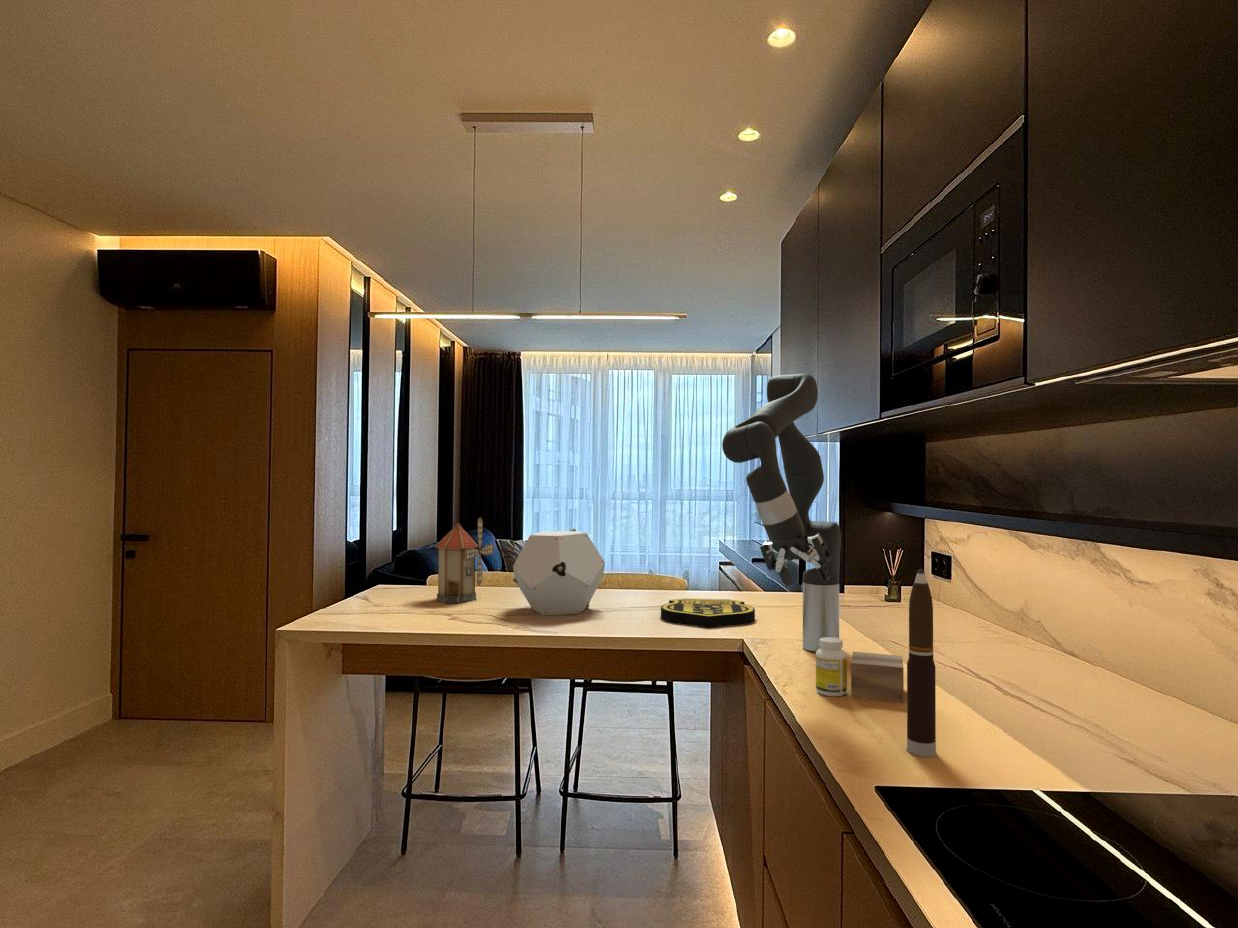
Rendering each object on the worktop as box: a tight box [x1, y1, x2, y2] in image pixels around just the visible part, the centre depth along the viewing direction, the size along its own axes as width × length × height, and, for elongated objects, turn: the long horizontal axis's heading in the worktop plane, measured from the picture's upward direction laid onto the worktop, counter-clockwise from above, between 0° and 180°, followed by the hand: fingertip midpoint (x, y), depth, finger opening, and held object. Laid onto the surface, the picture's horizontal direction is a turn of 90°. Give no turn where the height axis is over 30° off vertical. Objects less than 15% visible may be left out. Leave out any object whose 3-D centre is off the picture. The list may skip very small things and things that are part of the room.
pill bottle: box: [815, 637, 848, 697], centre depth 149 cm, size 6×6×11 cm
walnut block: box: [850, 651, 905, 704], centre depth 149 cm, size 10×10×7 cm
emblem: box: [660, 598, 756, 629], centre depth 226 cm, size 30×4×30 cm
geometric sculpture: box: [512, 528, 606, 616], centre depth 238 cm, size 30×30×30 cm
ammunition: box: [906, 568, 937, 758], centre depth 117 cm, size 5×5×30 cm
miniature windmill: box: [434, 516, 495, 605], centre depth 257 cm, size 24×20×30 cm
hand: (807, 583), depth 149 cm, fingers open, 8 cm apart
